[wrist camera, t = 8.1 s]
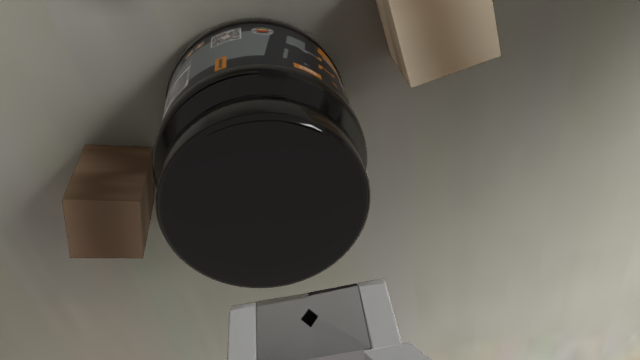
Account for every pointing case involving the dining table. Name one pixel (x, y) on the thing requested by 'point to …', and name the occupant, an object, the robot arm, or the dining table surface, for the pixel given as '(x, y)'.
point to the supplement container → (259, 157)
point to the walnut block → (109, 202)
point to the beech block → (438, 36)
